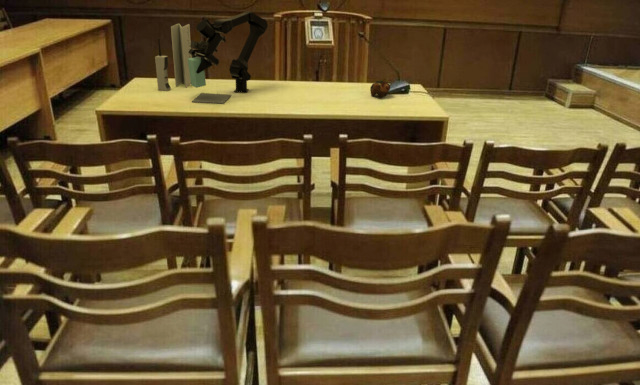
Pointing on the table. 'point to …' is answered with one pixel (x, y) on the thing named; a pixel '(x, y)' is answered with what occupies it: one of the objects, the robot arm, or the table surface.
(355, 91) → the table surface
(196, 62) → the teal block
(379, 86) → the decorative turtle
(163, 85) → the vintage mobile phone
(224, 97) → the rubber mat
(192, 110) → the table surface
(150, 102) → the table surface
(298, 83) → the table surface
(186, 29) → the brochure
